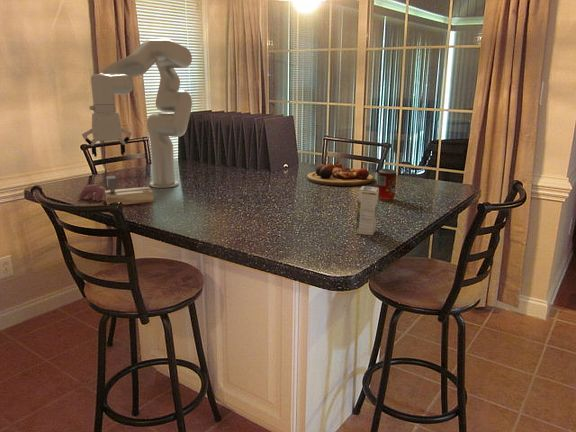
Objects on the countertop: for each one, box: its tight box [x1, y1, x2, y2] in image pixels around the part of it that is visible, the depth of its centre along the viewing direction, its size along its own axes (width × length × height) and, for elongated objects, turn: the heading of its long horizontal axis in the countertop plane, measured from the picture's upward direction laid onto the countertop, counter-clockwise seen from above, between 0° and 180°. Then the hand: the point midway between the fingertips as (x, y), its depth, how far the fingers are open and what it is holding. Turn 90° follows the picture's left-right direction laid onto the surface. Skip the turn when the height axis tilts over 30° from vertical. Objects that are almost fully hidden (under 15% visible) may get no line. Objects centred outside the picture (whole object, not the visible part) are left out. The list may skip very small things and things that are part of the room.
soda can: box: [377, 168, 398, 202], centre depth 194 cm, size 7×7×12 cm
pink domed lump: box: [78, 184, 106, 202], centre depth 191 cm, size 10×5×7 cm, turn 71°
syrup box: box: [355, 185, 379, 236], centre depth 153 cm, size 6×6×14 cm
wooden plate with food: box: [306, 161, 375, 187], centre depth 231 cm, size 32×32×8 cm
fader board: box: [104, 186, 155, 205], centre depth 188 cm, size 9×17×4 cm, turn 115°
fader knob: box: [106, 175, 118, 192], centre depth 184 cm, size 5×3×6 cm, turn 25°
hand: (109, 155), depth 181 cm, fingers open, 9 cm apart
